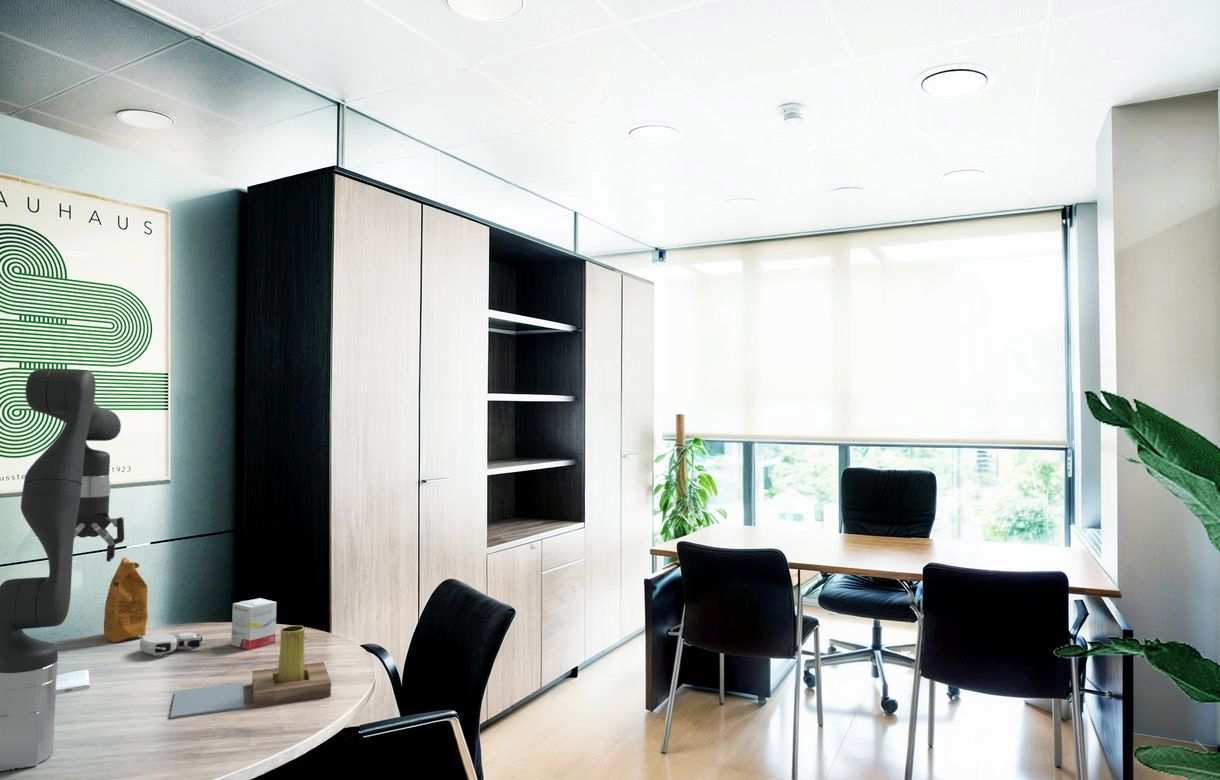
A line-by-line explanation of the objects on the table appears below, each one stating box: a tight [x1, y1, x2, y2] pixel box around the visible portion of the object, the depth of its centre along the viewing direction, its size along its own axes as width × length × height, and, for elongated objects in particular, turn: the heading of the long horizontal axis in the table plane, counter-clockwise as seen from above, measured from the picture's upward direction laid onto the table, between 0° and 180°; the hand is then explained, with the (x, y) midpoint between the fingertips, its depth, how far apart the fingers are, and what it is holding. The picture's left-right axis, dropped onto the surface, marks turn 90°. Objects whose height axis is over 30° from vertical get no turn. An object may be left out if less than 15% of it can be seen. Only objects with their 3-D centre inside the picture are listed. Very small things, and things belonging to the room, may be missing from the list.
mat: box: [169, 682, 245, 720], centre depth 167 cm, size 16×14×1 cm
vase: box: [277, 625, 306, 684], centre depth 175 cm, size 6×6×14 cm
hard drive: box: [56, 669, 91, 695], centre depth 176 cm, size 2×8×12 cm
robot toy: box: [137, 631, 208, 657], centre depth 202 cm, size 12×4×15 cm
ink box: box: [230, 597, 277, 651], centre depth 210 cm, size 9×9×12 cm
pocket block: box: [251, 661, 332, 708], centre depth 175 cm, size 16×16×3 cm
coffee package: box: [103, 557, 149, 643], centre depth 214 cm, size 10×12×22 cm
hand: (87, 562), depth 179 cm, fingers open, 8 cm apart
